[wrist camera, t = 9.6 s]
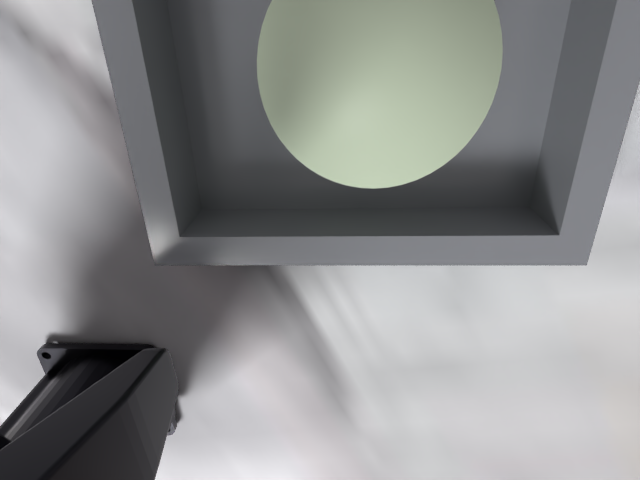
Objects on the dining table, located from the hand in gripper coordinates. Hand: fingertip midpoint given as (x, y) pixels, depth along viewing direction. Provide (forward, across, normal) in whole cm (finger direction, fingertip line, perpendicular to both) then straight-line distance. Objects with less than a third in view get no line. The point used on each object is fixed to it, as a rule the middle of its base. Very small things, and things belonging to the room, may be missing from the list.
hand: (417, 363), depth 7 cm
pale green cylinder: (+10, 0, -5) cm, 11 cm away
